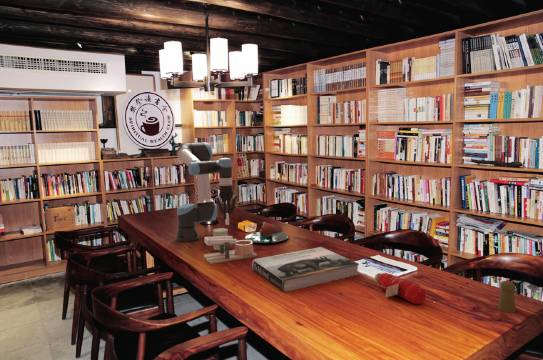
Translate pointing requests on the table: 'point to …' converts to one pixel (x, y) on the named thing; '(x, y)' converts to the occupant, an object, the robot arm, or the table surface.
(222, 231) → the can
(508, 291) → the green chess rook
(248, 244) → the cup
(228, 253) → the stand
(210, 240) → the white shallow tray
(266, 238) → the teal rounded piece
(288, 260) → the book
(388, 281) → the red elongated piece
